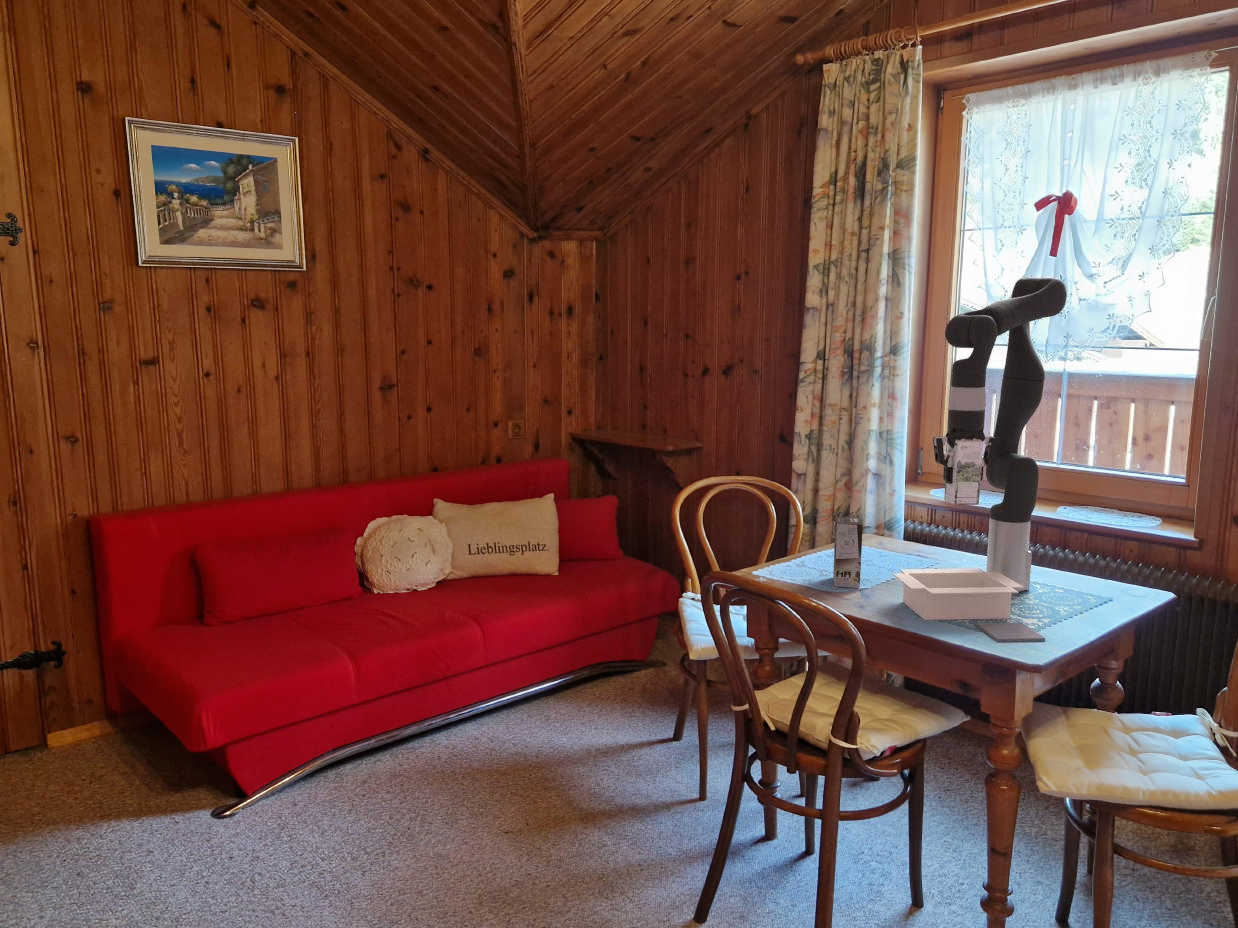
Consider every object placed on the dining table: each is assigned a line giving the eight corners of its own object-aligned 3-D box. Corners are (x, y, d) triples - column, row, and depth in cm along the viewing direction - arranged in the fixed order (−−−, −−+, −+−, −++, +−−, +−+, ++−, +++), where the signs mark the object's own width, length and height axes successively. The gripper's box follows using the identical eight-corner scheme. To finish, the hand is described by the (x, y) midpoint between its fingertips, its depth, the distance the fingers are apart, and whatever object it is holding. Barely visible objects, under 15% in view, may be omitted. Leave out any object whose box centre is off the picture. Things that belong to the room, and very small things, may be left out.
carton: (989, 596, 218) (991, 568, 217) (1029, 622, 199) (1032, 591, 198) (885, 598, 217) (887, 569, 215) (916, 624, 198) (917, 593, 196)
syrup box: (968, 500, 207) (972, 436, 205) (979, 505, 201) (983, 440, 199) (943, 500, 207) (947, 436, 205) (954, 505, 201) (958, 440, 199)
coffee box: (860, 588, 224) (863, 524, 222) (833, 587, 226) (836, 523, 223) (858, 578, 233) (861, 516, 231) (832, 577, 235) (835, 515, 232)
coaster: (1021, 624, 197) (1021, 622, 197) (1045, 640, 188) (1045, 637, 187) (976, 625, 197) (976, 622, 197) (997, 641, 187) (997, 638, 187)
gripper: (991, 405, 205) (986, 479, 207) (928, 406, 204) (924, 480, 207) (1006, 408, 197) (1002, 485, 200) (941, 409, 197) (937, 486, 199)
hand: (962, 482), depth 203 cm, fingers closed on syrup box, 5 cm apart
